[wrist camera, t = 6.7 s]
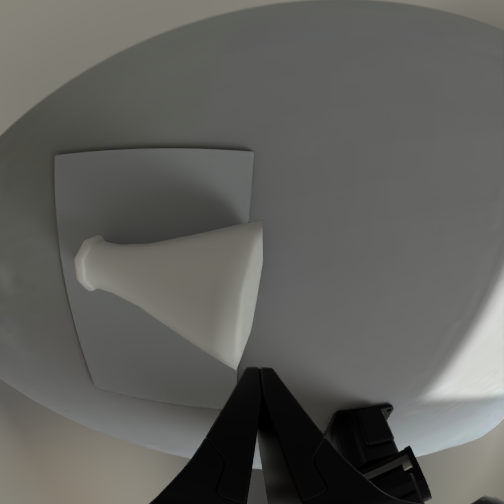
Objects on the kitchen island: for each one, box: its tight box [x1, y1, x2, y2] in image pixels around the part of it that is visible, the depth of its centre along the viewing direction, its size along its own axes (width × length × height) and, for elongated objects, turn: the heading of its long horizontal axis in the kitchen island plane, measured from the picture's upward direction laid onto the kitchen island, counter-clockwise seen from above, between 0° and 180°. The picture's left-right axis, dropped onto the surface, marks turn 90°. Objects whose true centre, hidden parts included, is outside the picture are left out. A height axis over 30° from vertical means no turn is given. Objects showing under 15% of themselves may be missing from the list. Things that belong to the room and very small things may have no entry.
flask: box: [74, 220, 263, 370], centre depth 14 cm, size 7×7×10 cm
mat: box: [54, 148, 254, 409], centre depth 18 cm, size 20×13×1 cm, turn 175°
